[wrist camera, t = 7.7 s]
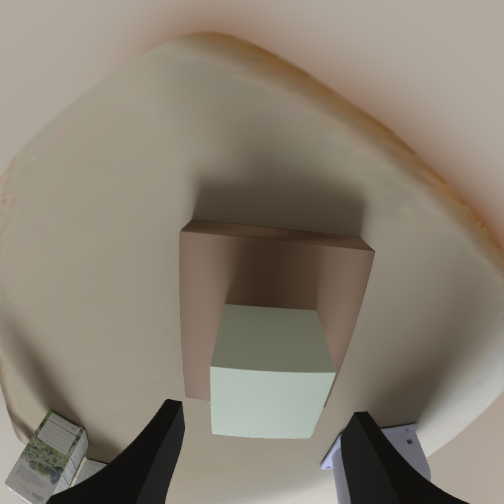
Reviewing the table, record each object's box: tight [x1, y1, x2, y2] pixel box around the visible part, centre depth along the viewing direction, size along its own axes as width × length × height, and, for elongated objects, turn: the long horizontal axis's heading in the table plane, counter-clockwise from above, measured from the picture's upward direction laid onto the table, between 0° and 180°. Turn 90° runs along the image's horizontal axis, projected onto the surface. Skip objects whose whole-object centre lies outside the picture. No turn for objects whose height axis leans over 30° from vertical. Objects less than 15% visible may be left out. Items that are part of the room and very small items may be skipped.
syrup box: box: [5, 410, 89, 504], centre depth 19 cm, size 6×6×14 cm
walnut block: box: [179, 220, 375, 407], centre depth 17 cm, size 10×12×3 cm
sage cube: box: [210, 304, 336, 438], centre depth 13 cm, size 5×5×5 cm
